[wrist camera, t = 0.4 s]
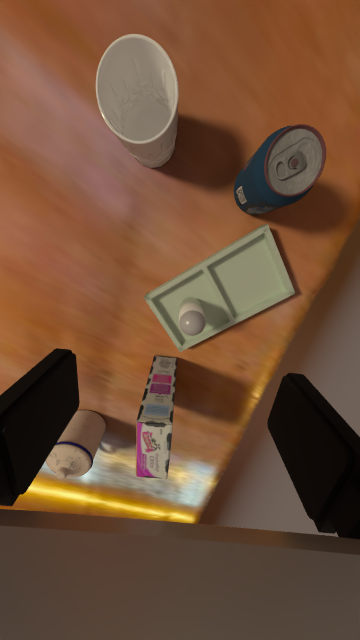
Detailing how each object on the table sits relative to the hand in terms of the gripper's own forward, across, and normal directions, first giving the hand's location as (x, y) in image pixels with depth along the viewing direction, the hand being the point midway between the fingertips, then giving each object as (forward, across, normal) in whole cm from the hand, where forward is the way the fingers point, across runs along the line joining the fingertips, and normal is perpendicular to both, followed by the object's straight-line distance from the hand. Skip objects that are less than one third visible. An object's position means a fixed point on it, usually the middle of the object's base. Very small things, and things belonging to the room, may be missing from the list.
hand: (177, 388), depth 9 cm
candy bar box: (+29, +1, +21) cm, 36 cm away
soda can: (+29, -9, -14) cm, 33 cm away
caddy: (+28, -6, +2) cm, 29 cm away
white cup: (+29, +6, -19) cm, 35 cm away
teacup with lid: (+29, +18, +37) cm, 51 cm away
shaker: (+28, -2, +5) cm, 28 cm away
